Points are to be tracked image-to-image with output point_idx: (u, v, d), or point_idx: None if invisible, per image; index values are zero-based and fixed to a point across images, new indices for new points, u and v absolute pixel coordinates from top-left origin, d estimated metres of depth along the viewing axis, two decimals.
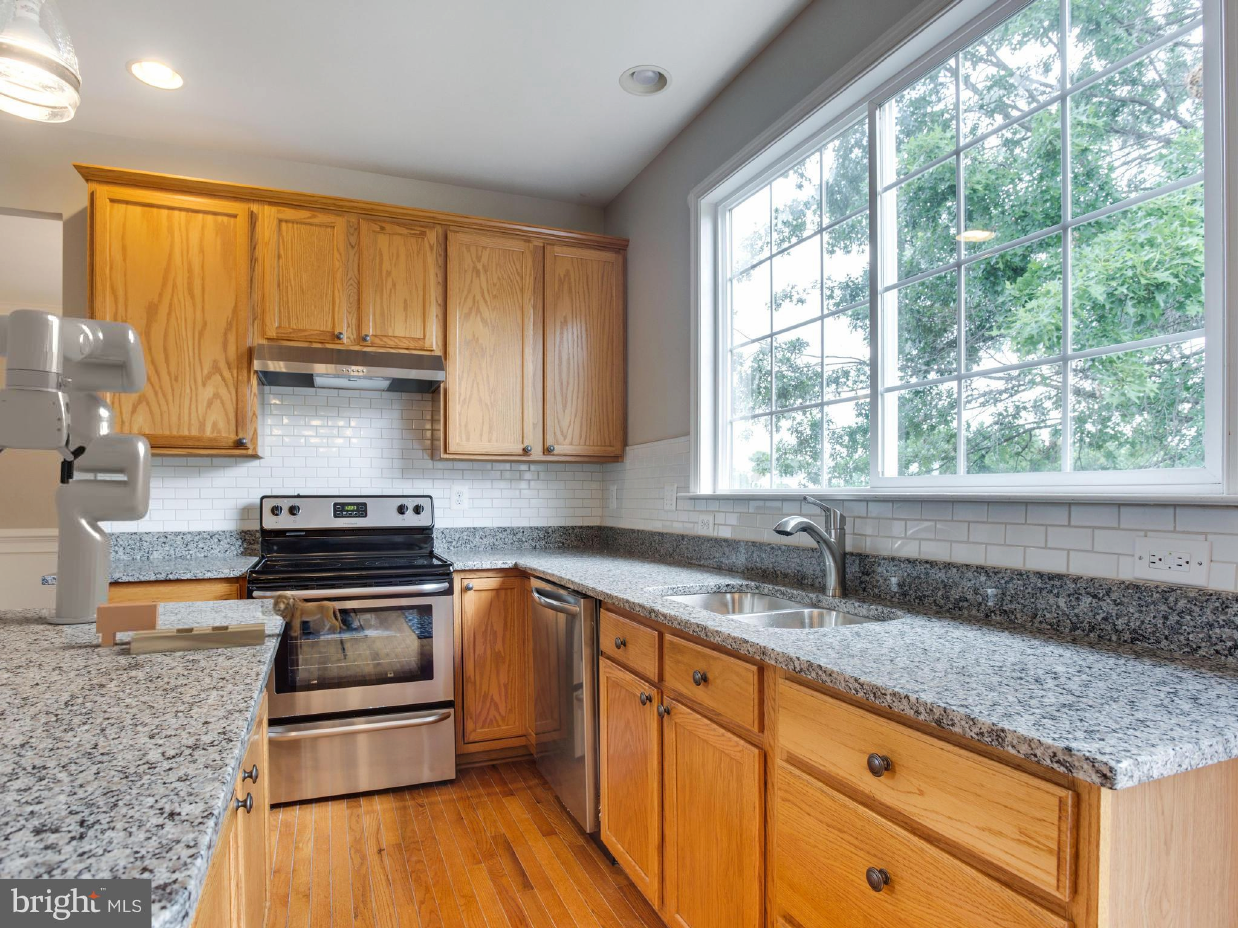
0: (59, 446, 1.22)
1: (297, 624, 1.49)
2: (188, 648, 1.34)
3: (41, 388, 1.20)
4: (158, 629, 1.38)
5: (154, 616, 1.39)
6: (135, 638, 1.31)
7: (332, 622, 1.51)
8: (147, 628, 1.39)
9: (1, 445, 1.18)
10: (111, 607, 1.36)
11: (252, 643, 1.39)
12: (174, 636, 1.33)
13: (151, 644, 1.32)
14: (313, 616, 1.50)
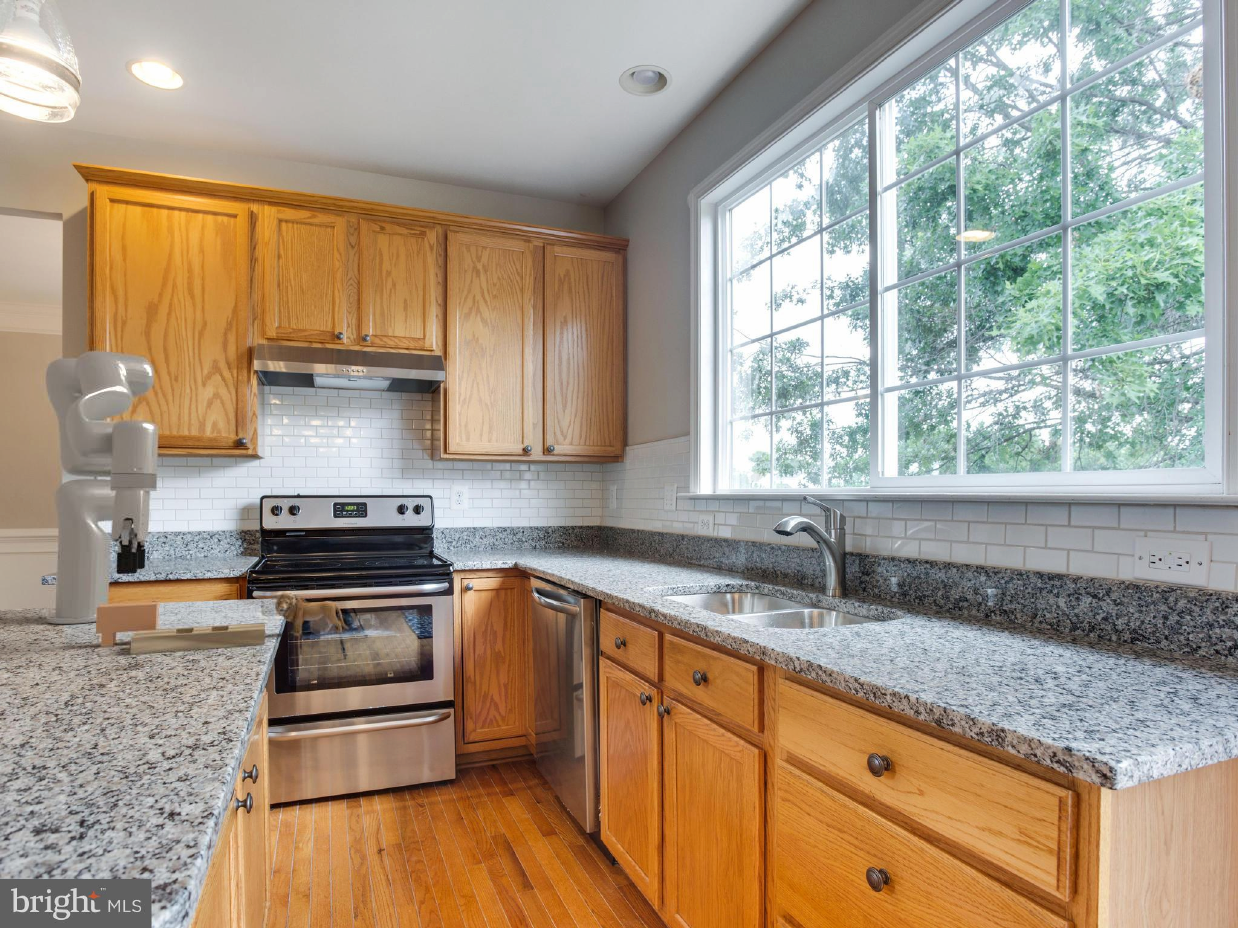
0: (146, 536, 1.43)
1: (300, 624, 1.49)
2: (188, 648, 1.34)
3: None
4: (158, 629, 1.38)
5: (154, 616, 1.39)
6: (135, 638, 1.31)
7: (334, 622, 1.51)
8: (147, 628, 1.39)
9: (140, 539, 1.37)
10: (111, 607, 1.36)
11: (252, 643, 1.39)
12: (174, 636, 1.33)
13: (151, 644, 1.32)
14: (316, 616, 1.50)
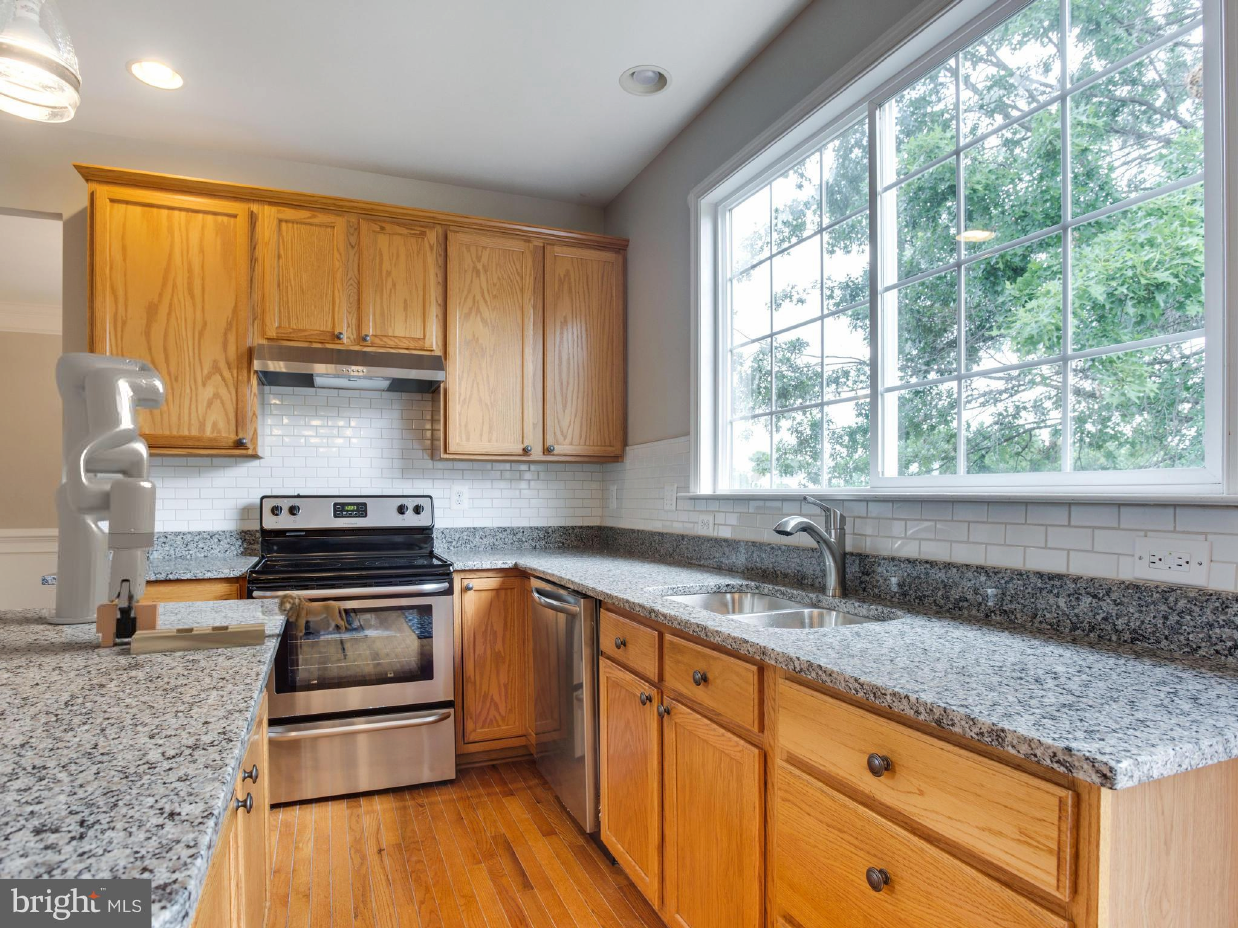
0: None
1: (303, 624, 1.49)
2: (188, 648, 1.34)
3: None
4: (158, 629, 1.38)
5: (154, 616, 1.39)
6: (135, 638, 1.31)
7: (337, 622, 1.51)
8: (147, 628, 1.39)
9: (137, 599, 1.37)
10: (111, 607, 1.36)
11: (252, 643, 1.39)
12: (174, 636, 1.33)
13: (151, 644, 1.32)
14: (318, 616, 1.51)
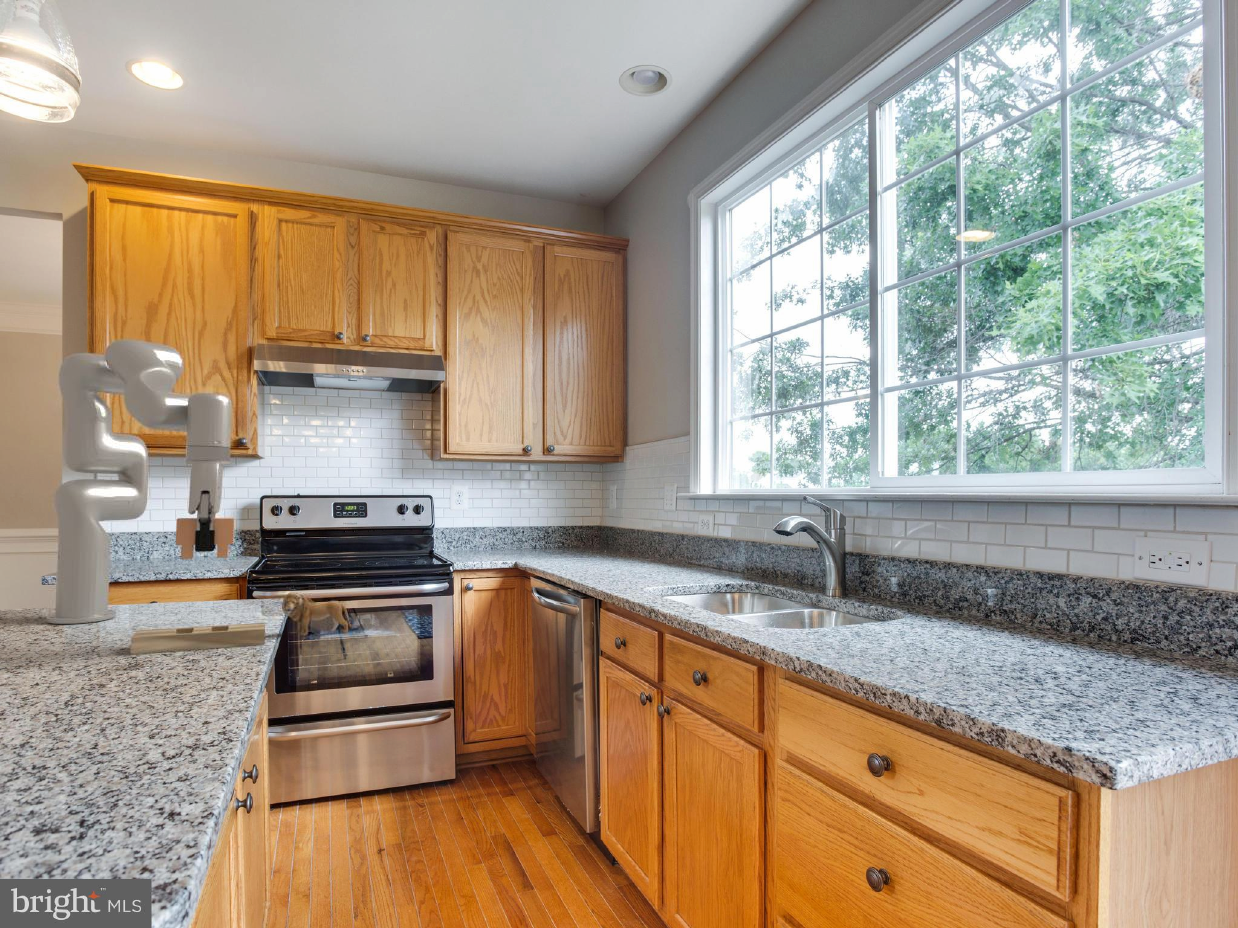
0: (218, 510, 1.43)
1: (306, 624, 1.49)
2: (188, 648, 1.34)
3: None
4: (158, 629, 1.38)
5: (232, 530, 1.39)
6: (135, 638, 1.31)
7: (341, 622, 1.52)
8: (225, 542, 1.39)
9: (216, 512, 1.37)
10: (190, 519, 1.36)
11: (252, 643, 1.39)
12: (174, 636, 1.33)
13: (151, 644, 1.32)
14: (322, 616, 1.51)
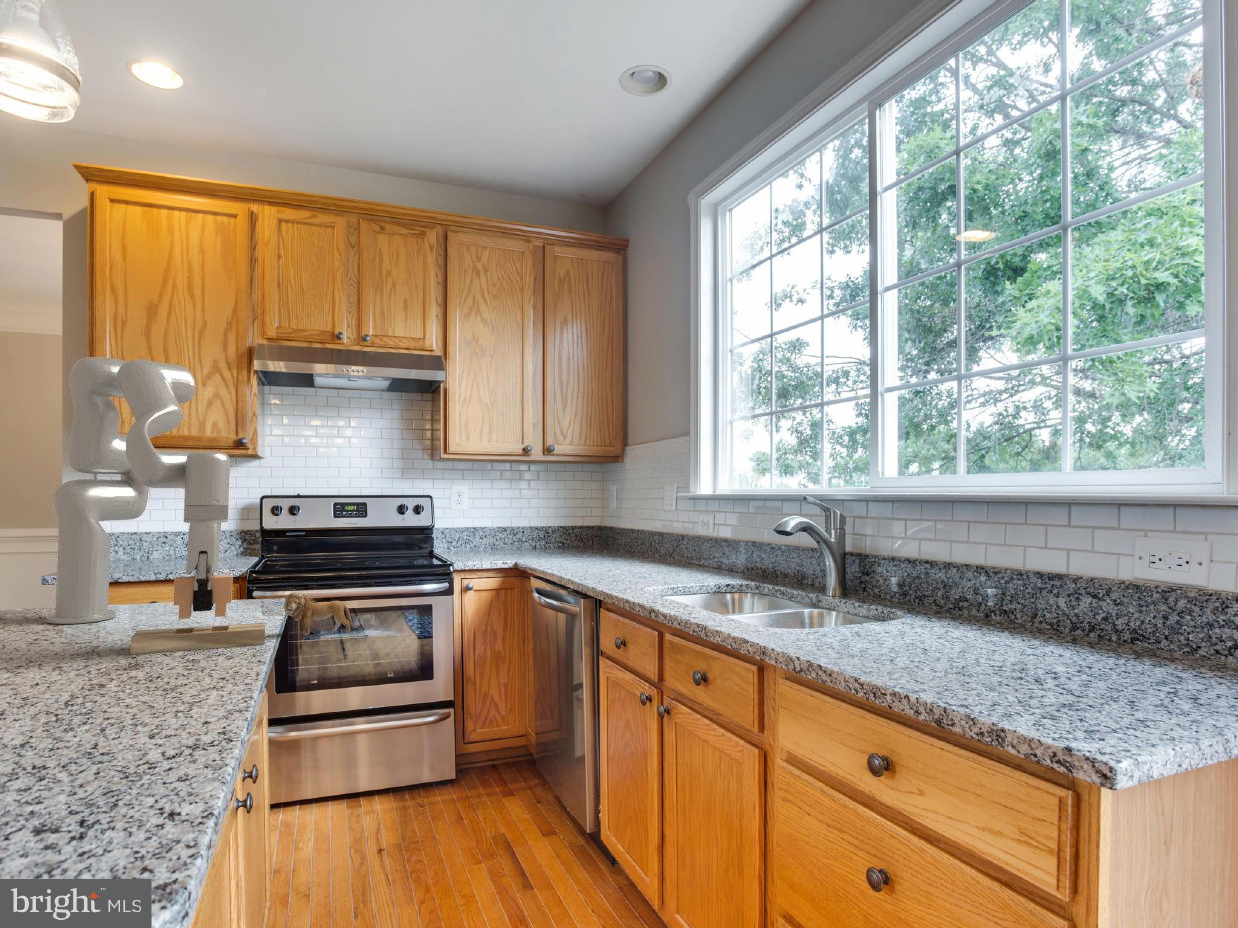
0: None
1: (308, 624, 1.49)
2: (188, 648, 1.34)
3: None
4: (158, 629, 1.38)
5: (230, 588, 1.39)
6: (135, 638, 1.31)
7: (343, 622, 1.52)
8: (223, 601, 1.38)
9: None
10: (188, 579, 1.36)
11: (252, 643, 1.39)
12: (174, 636, 1.33)
13: (151, 644, 1.32)
14: (324, 616, 1.51)
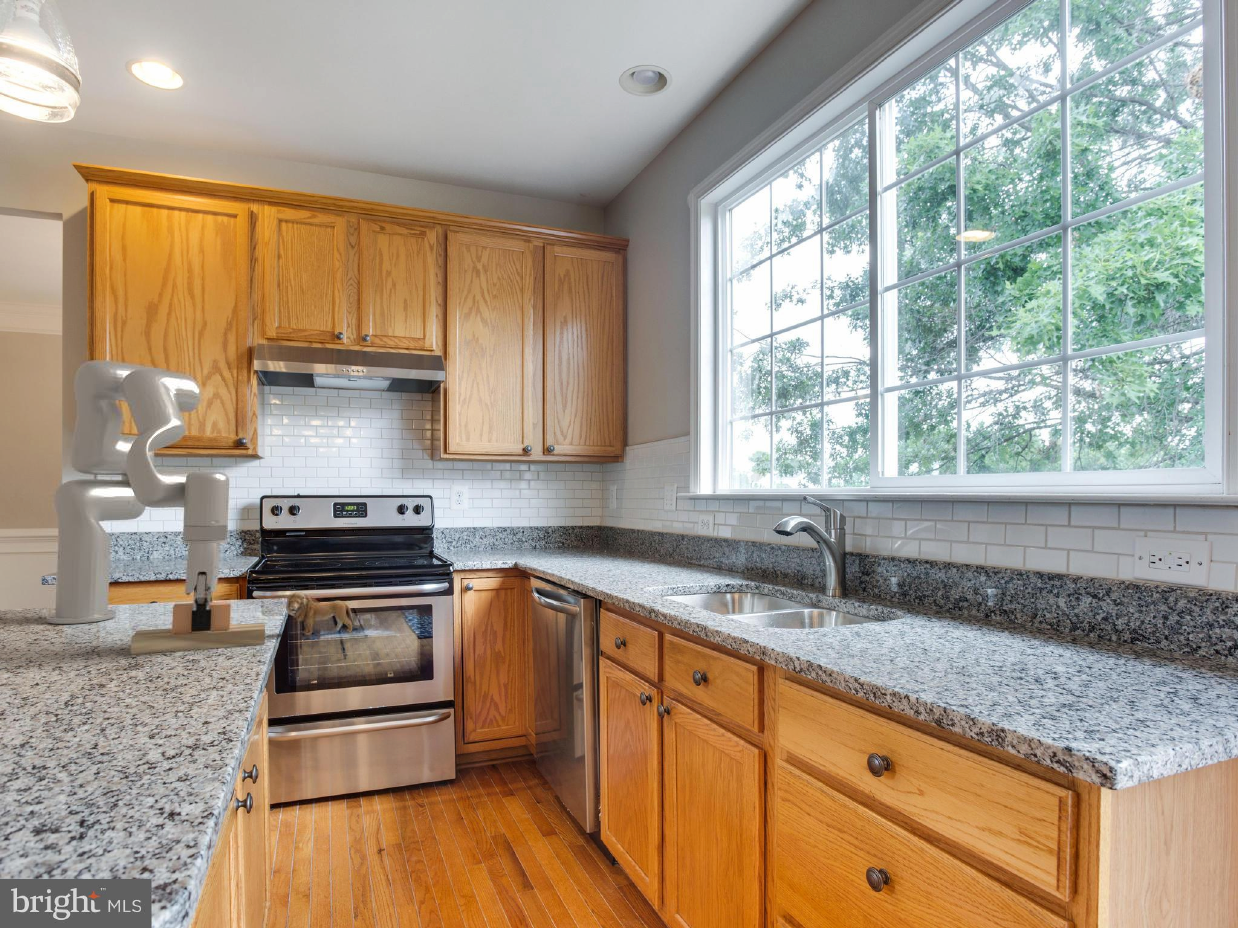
0: None
1: (310, 623, 1.50)
2: (188, 648, 1.34)
3: None
4: (158, 629, 1.38)
5: (228, 615, 1.39)
6: (135, 638, 1.31)
7: (345, 621, 1.52)
8: (221, 628, 1.38)
9: (213, 592, 1.36)
10: (186, 607, 1.36)
11: (252, 643, 1.39)
12: (174, 636, 1.33)
13: (151, 644, 1.32)
14: (326, 616, 1.51)
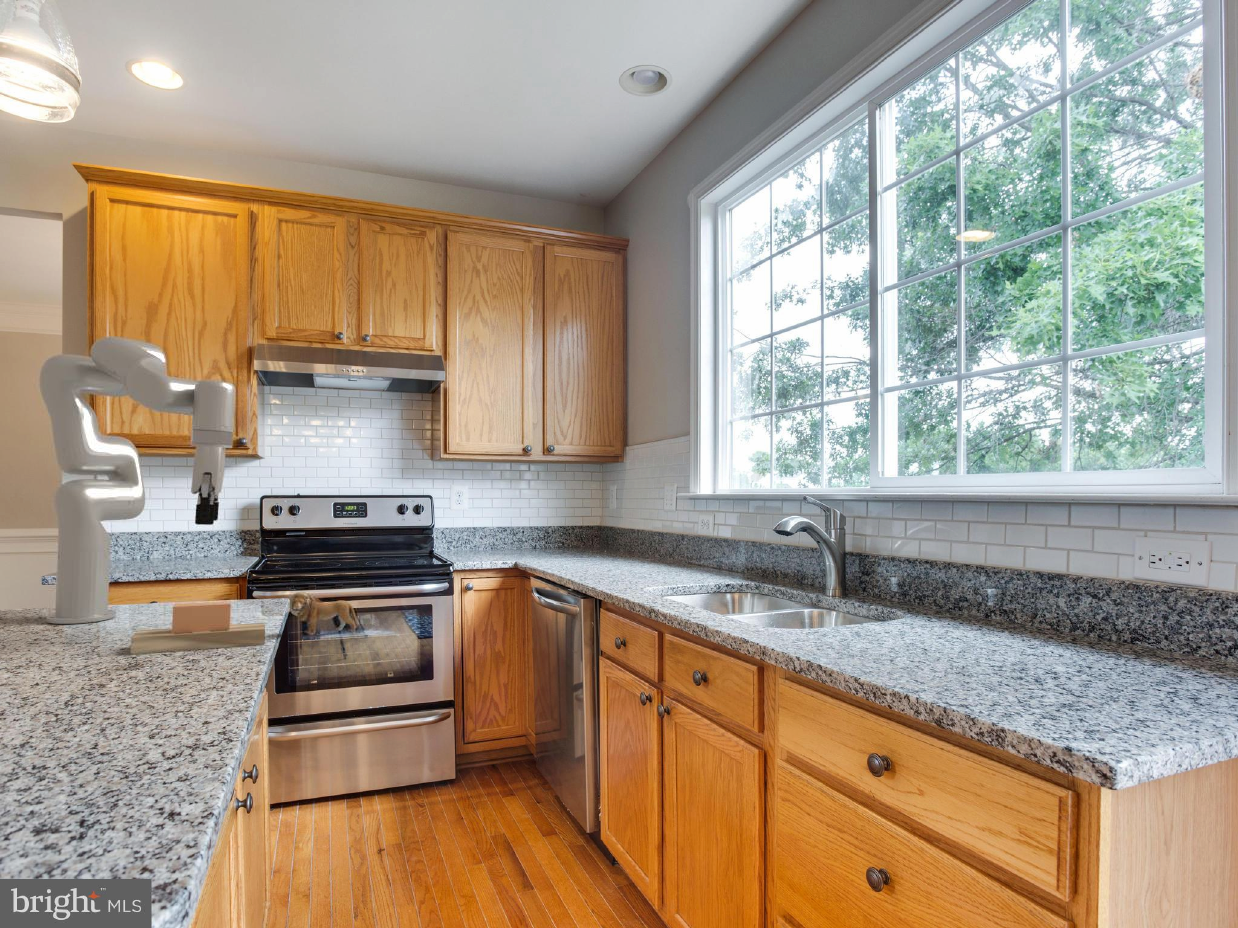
0: None
1: (314, 623, 1.50)
2: (188, 648, 1.34)
3: None
4: (158, 629, 1.38)
5: (228, 615, 1.39)
6: (135, 638, 1.31)
7: (348, 621, 1.52)
8: (221, 628, 1.38)
9: (217, 493, 1.45)
10: (186, 607, 1.36)
11: (252, 643, 1.39)
12: (174, 636, 1.33)
13: (151, 644, 1.32)
14: (329, 616, 1.52)
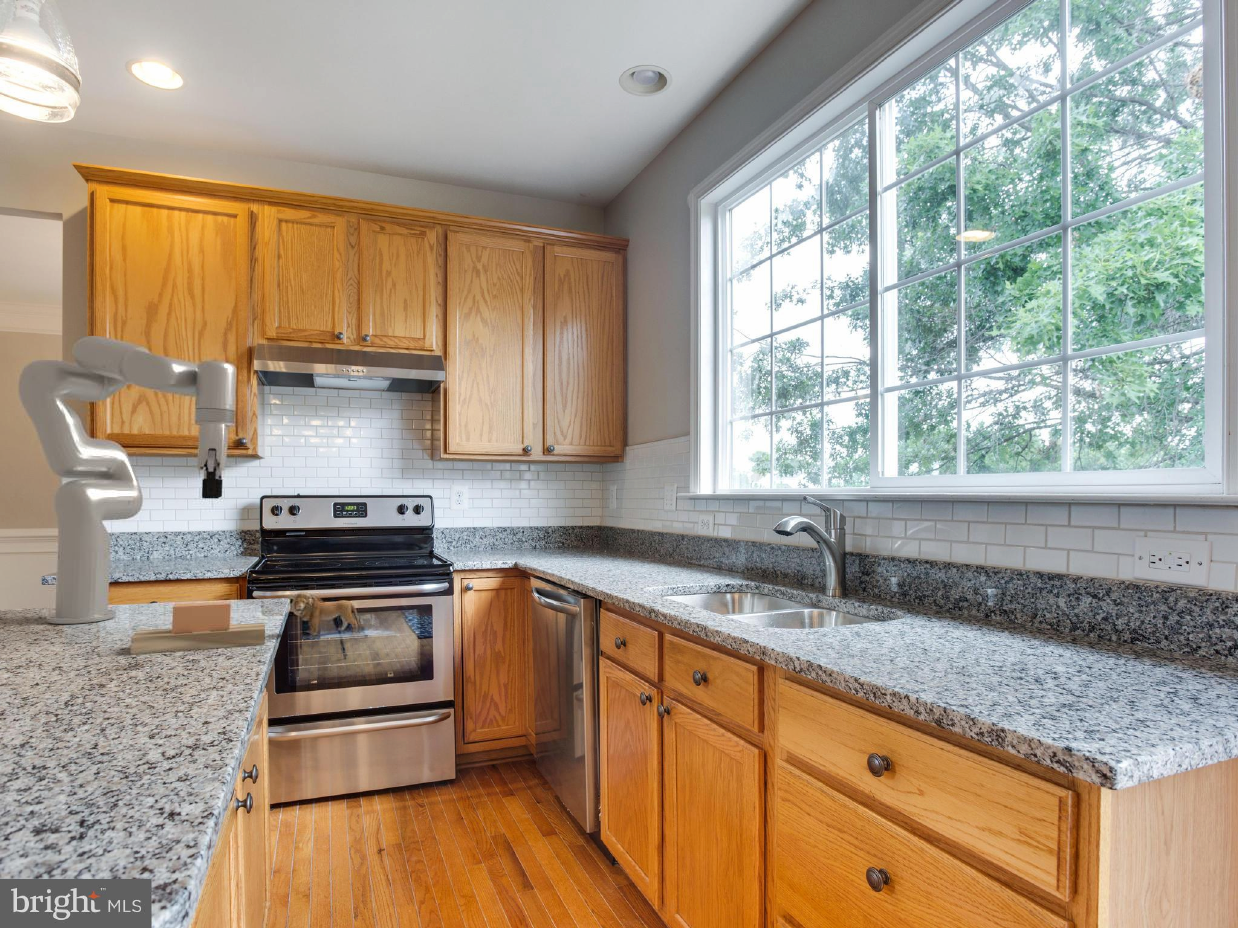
0: None
1: (316, 623, 1.50)
2: (188, 648, 1.34)
3: None
4: (158, 629, 1.38)
5: (228, 615, 1.39)
6: (135, 638, 1.31)
7: (350, 621, 1.52)
8: (221, 628, 1.38)
9: (222, 468, 1.51)
10: (186, 607, 1.36)
11: (252, 643, 1.39)
12: (174, 636, 1.33)
13: (151, 644, 1.32)
14: (332, 616, 1.52)
